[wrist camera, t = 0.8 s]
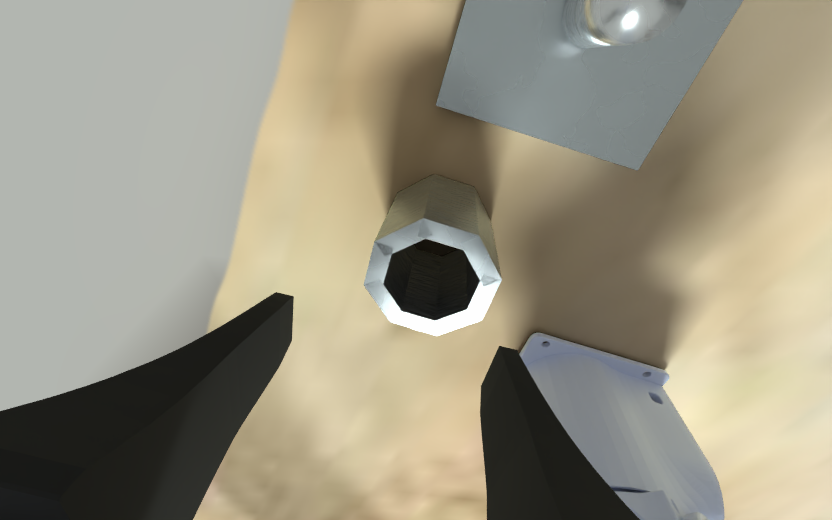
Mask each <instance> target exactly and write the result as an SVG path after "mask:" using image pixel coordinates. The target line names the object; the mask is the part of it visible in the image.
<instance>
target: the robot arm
mask: <svg viewBox="0 0 832 520" xmlns="http://www.w3.org/2000/svg"><path fill="white" fill-rule="evenodd" d="M293 298H294V296H290V295H285V294H281V293H277V292H276V293H274V294H272V295H271V296H269V297H267V298H266V299H264V300H263V301H261V302H260V303H258V304H256V305H255V306H253V307H252V308H250V309H249V310H247V311H245V312H244V313H242V314H241V315H239V316H237V317H236V318H234V319H232V320H231V321H229V322H227V323H226V324H224V325H222V326H221V327H219V328H217V329H215V330H214V331H212V332H210V333H208V334H206V335H204V336H203V337H201V338H199V339H197V340H195V341H193V342H192V343H190V344H188V345H186V346H184V347H182V348H180V349H178V350H176V351H173V352H171V353H169V354H167V355H165V356H163V357H160V358H158V359H156V360H153V361H151V362H149V363H146V364H144V365H141V366H139V367H136V368H134V369H131V370H128V371H126V372H123V373H121V374H118V375H116V376H114V377H111V378H108V379H105V380H102V381H99V382H96V383H94V384H91V385H88V386H85V387H82V388H79V389H75V390H73V391H69V392H66V393H63V394H60V395H57V396H53V397H50V398H47V399H43V400H39V401H36V402H32V403H28V404H25V405H21V406H18V407H14V408H10V409H7V410H3V411H0V520H193V518H194V516H195V514H196V512H197V510H198V508H199V506H200V504H201V502H202V500H203V498H204V496H205V494H206V492H207V490H208V488H209V486H210V484H211V482H212V480H213V478H214V476H215V474H216V472H217V470H218V468H219V466H220V464H221V462H222V460H223V458H224V456H225V454H226V452H227V450H228V448H229V447H230V445H231V443H232V441H233V439H234V437H235V435H236V434H237V432H238V430H239V429H240V427H241V425H242V424H243V422H244V421H245V419H246V418H247V416H248V414H249V413H250V411H251V410H252V408H253V407H254V405H255V404H256V402H257V401H258V399H259V397H260V396H261V394H262V393H263V391H264V390H265V388H266V387H267V385H268V383H269V382H270V380H271V379H272V377H273V376H274V374H275V372H276V371H277V369H278V368H279V366H280V364H281V362H282V360H283V358H284V356H285V354H286V352H287V350H288V347H289V345H290V343H291V341H292V323H293ZM545 341H548V342H547V343H543V342H545ZM644 372H645V373H644ZM668 379H669V375H668V373H667V372H666V371H665V370H663V369H660V368H657V367H653V366H650V365H646V364H643V363H640V362H636V361H633V360H630V359H626V358H623V357H620V356H616V355H613V354H610V353H606V352H603V351H600V350H596V349H593V348H589V347H586V346H583V345H579V344H576V343H573V342H569V341H566V340H563V339H559V338H556V337H553V336H549V335H546V334H543V333H534V334H532V335H531V336H530V337H529V339H528V341H527V342H526V344H525V346H524V347H523V349H522V351H521V352H520V354H519V353H518V351H517V350H514V349H510V348H506V347H502V346H499V348H498V350H497V352H496V355H495V357H494V359H493V361H492V363H491V366H490V368H489V370H488V372H487V374H486V377H485V379H484V381H483V383H482V385H481V407H480V417H481V430H482V441H483V452H484V464H485V475H486V488H487V520H724V504H723V498H722V492H721V489H720V485H719V482H718V480H717V477H716V475H715V473H714V471H713V469H712V467H711V465H710V464H709V462H708V460H707V459H706V457H705V455H704V454H703V452H702V451H701V449H700V447H699V446H698V444H697V442H696V441H695V439H694V437H693V436H692V434H691V433H690V431H689V429H688V428H687V426H686V424H685V423H684V421H683V420H682V418H681V416H680V415H679V413H678V411H677V410H676V408H675V407H674V405H673V403H672V402H671V400H670V398H669V397H668V395H667V394H666V392H665V390H664V389H663V387H662V386H663V385H664V384H665V383H666V382H667V381H668Z"/></svg>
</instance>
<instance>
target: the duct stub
mask: <svg viewBox="0 0 832 520" xmlns="http://www.w3.org/2000/svg"><path fill="white" fill-rule="evenodd" d="M742 1H743V0H466V2H465V5H464V9H463V12H462V16H461V19H460V23H459V26H458V30H457V33H456V36H455V40H454V43H453V47H452V50H451V54H450V57H449V61H448V64H447V68H446V71H445V75H444V78H443V82H442V85H441V89H440V92H439V96H438V99H437V103H436V106H439V107H442V108H445V109H448V110H451V111H454V112H458V113H461V114H464V115H467V116H470V117H473V118H476V119H479V120H482V121H485V122H488V123H492V124H495V125H498V126H501V127H504V128H507V129H510V130H513V131H516V132H519V133H522V134H526V135H529V136H532V137H535V138H538V139H541V140H544V141H547V142H550V143H553V144H557V145H560V146H563V147H566V148H569V149H572V150H575V151H578V152H581V153H584V154H587V155H591V156H594V157H597V158H600V159H603V160H606V161H609V162H612V163H615V164H618V165H621V166H625V167H628V168H631V169H634V170H637V171H638V169H639V168H640V166H641V165H642V163H643V161H644V160H645V158H646V157H647V155H648V153H649V152H650V150H651V148H652V147H653V145H654V144H655V142H656V140H657V139H658V137H659V136H660V134H661V132H662V131H663V129H664V127H665V126H666V124H667V123H668V121H669V119H670V118H671V116H672V115H673V113H674V111H675V110H676V108H677V106H678V105H679V103H680V102H681V100H682V98H683V97H684V95H685V94H686V92H687V90H688V89H689V87H690V85H691V84H692V82H693V81H694V79H695V77H696V76H697V74H698V73H699V71H700V69H701V68H702V66H703V64H704V63H705V61H706V60H707V58H708V56H709V55H710V53H711V52H712V50H713V48H714V47H715V45H716V43H717V42H718V40H719V39H720V37H721V35H722V34H723V32H724V31H725V29H726V27H727V26H728V24H729V22H730V21H731V19H732V18H733V16H734V14H735V13H736V11H737V10H738V8H739V6H740V5H741V3H742Z"/></svg>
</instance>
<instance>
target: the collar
mask: <svg viewBox="0 0 832 520" xmlns="http://www.w3.org/2000/svg"><path fill="white" fill-rule="evenodd" d="M424 239H428V240H432V241H435V242H438V243H441V244H445V245H448V246H451V247H454V248H458V250H455V251H453V252H451V253H448V254H446V255H444V256H438V255H435V254H432V253H429V252H425V251H422V250H419V249H416V248H415V246H414V244H415V243H417V242H419V241H422V240H424ZM501 281H502V278H501V273H500V267H499V262H498V256H497V251H496V245H495V240H494V235H493V229H492V224H491V220H490V218H489V216H488V214H487V212H486V210H485V208H484V206H483V204H482V202H481V200H480V198H479V196H478V194H477V192H476V190H475V187H474V186H471V185H467V184H464V183H461V182H458V181H455V180H451V179H448V178H445V177H442V176H439V175H436V174H433V175H431V176H429V177H427V178H425V179H423V180H421V181H419V182H417V183H415V184H413V185H411V186H410V187H408V188H406V189H404V190H402V191H400V192H398V193H397V195H396V197H395V199H394V202H393V204H392V206H391V208H390V210H389V212H388V214H387V216H386V218H385V221H384V223H383V225H382V227H381V229H380V231H379V233H378V235H377V237H376V239H375V242H374V246H373V250H372V254H371V258H370V262H369V266H368V270H367V274H366V278H365V282H364V286H365V288H366V289H367V290H368V292H369V293H370V295H371V296H372V297H373V299H374V300H375V302H376V303H377V304H378V306H379V307H380V309H381V310H382V311H383V313H384V314H385V316H386V317H387V318H388V320H389V321H390V322H391V323H395V324H398V325H402V326H405V327H408V328H412V329H415V330H419V331H422V332H425V333H429V334H432V335H436V336H438V335H441V334H444V333H446V332H449V331H452V330H455V329H458V328H461V327H464V326H467V325H470V324H473V323H475V322H478V321H481V320H482V319H483V317H484V315H485V313H486V311H487V309H488V307H489V305H490V303H491V301H492V299H493V297H494V295H495V293H496V291H497V289H498V287H499V285H500V283H501Z"/></svg>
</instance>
